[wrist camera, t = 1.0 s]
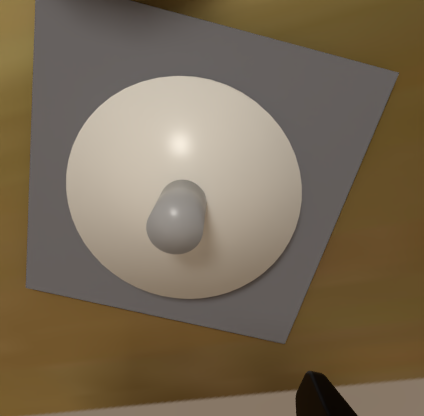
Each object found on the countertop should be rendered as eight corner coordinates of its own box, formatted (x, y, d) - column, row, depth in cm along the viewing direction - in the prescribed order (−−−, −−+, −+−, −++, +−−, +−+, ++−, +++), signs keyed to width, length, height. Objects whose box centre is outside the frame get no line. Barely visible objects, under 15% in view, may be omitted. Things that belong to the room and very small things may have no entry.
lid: (332, 110, 17) (366, 122, 13) (260, 307, 22) (269, 361, 18) (84, 47, 17) (37, 37, 12) (65, 265, 21) (27, 311, 17)
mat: (394, 72, 17) (399, 72, 16) (283, 338, 24) (284, 343, 23) (41, -23, 16) (36, -25, 15) (29, 283, 23) (25, 287, 22)
